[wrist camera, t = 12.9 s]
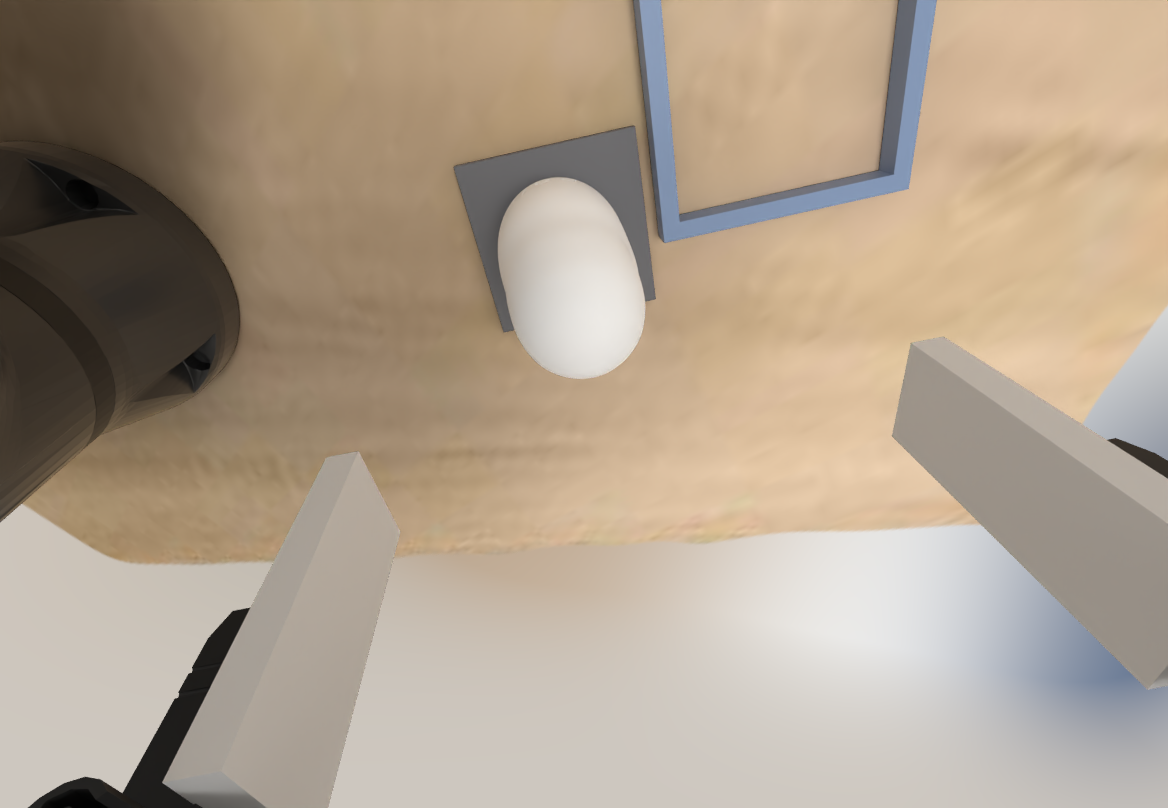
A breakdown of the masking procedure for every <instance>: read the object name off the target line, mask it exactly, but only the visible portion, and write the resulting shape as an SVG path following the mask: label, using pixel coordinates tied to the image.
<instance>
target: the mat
mask: <svg viewBox="0 0 1168 808" xmlns="http://www.w3.org/2000/svg"><path fill="white" fill-rule="evenodd" d="M454 170H455V174H456V177H457V180H458V183H459V187H460V190H461V193H462V197H463V200H464V203H465V206H466V210H467V213H468V216H469V220H470V223H471V226H472V229H473V233H474V236H475V239H476V243H477V246H478V249H479V253H480V256H481V259H482V262H483V266H484V269H485V272H486V276H487V279H488V282H489V285H490V289H491V292H492V295H493V299H494V302H495V305H496V308H497V312H498V315H499V318H500V322H501V325H502V328H503V331H504V332H508V331H513V330H514V327H513V324H512V321H511V317H510V313H509V309H508V305H507V299H506V292H505V289H504V286H503V282H502V278H501V274H500V269H499V262H498V236H499V230H500V226H501V223H502V220H503V217H504V215H505V212H506V210H507V209H508V207H509V205H510V204H511V202H512V201H513V200H514V198H515V197H516V196H517V195H518V194H519V193H520V192H521V191H522V190H524V189H525V188H526V187H528V186H529V185H531V184H533V183H535V182H537V181H540V180H543V179H547V178H553V177H564V178H571V179H575V180H578V181H581V182H583V183H585V184H587V185H589V186H590V187H592V188H594V189H595V190H596V191H598V192H599V193H600V194H601V195H602V196H603V197H604V198H605V199H606V200H607V201H608V203H609V204H610V205H611V207H612V208H613V210H614V211H615V213H616V215H617V216H618V218H619V220H620V222H621V224H622V227H623V229H624V231H625V233H626V236H627V238H628V241H629V243H630V245H631V248H632V251H633V253H634V256H635V260H636V263H637V267H638V273H639V277H640V280H641V283H642V287H643V291H644V297H645V301H650V300H654V299H656V297H655V289H654V281H653V272H652V264H651V256H650V247H649V239H648V231H647V222H646V214H645V206H644V197H643V189H642V181H641V172H640V164H639V155H638V147H637V139H636V130H635V126H628V127H624V128H620V129H615V130H611V131H606V132H602V133H597V134H593V135H589V136H584V137H580V138H575V139H571V140H566V141H562V142H558V143H553V144H549V145H544V146H540V147H535V148H531V149H527V150H522V151H518V152H513V153H509V154H504V155H500V156H496V157H491V158H487V159H482V160H478V161H473V162H469V163H465V164H460V165H456V166H454Z"/></svg>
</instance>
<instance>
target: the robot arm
mask: <svg viewBox="0 0 1168 808" xmlns="http://www.w3.org/2000/svg"><path fill="white" fill-rule="evenodd" d="M238 333H239V310H238V303H237V299H236V295H235V291H234V288H233V285H232V283H231V280H230V277H229V275H228V273H227V271H226V269H225V267H224V265H223V263H222V261H221V260H220V258H219V256H218V255H217V253H216V252H215V250H214V249H213V247H212V246H211V244H210V243H209V242H208V240H207V239H206V238H205V236H204V235H203V234H202V233H201V232H200V230H199V229H198V228H197V227H196V226H195V225H194V224H193V223H192V221H191V220H190V219H189V218H188V217H187V216H186V215H185V214H184V213H183V212H182V211H180V210H179V209H178V208H177V207H176V206H175V205H174V204H173V203H171V202H170V201H169V200H168V199H166V198H165V197H164V196H163V195H161V194H160V193H159V192H157V191H156V190H155V189H153V188H152V187H151V186H149V185H147V184H146V183H144V182H143V181H141V180H140V179H138V178H137V177H135V176H133V175H131V174H130V173H128V172H126V171H124V170H122V169H120V168H118V167H117V166H115V165H113V164H110V163H108V162H106V161H104V160H101V159H99V158H96V157H94V156H91V155H89V154H86V153H83V152H80V151H77V150H73V149H70V148H66V147H62V146H57V145H52V144H47V143H40V142H29V141H6V142H0V522H1V521H2V520H3V519H5V518H6V517H7V516H8V515H9V514H10V513H12V512H13V511H14V510H15V509H16V508H17V507H18V506H19V505H21V504H22V503H23V502H24V501H25V500H26V499H27V498H29V497H30V496H31V495H32V494H33V493H34V492H35V491H37V490H38V489H39V488H40V487H41V486H42V485H43V484H45V483H46V482H47V481H48V480H49V479H50V478H51V477H53V476H54V475H55V474H56V473H57V472H58V471H59V470H60V469H62V468H63V467H64V466H65V465H66V464H67V463H68V462H70V461H71V460H72V459H73V458H74V457H75V456H76V455H77V454H78V453H80V452H81V451H82V450H83V449H84V448H85V447H86V446H88V445H89V444H90V443H91V442H92V441H93V440H95V439H96V438H97V437H98V436H99V435H101V434H104V433H107V432H109V431H112V430H115V429H117V428H120V427H123V426H125V425H128V424H131V423H133V422H136V421H139V420H141V419H144V418H147V417H149V416H152V415H155V414H157V413H160V412H162V411H165V410H168V409H170V408H173V407H175V406H177V405H179V404H181V403H183V402H185V401H187V400H188V399H190V398H191V397H193V396H194V395H196V394H197V393H198V392H200V391H201V390H202V389H203V388H204V387H205V386H206V385H207V384H208V383H209V382H210V381H211V380H212V379H213V378H214V377H215V376H216V375H217V374H218V373H219V372H220V371H221V370H222V369H223V368H224V366H225V365H226V364H227V362H228V361H229V359H230V357H231V355H232V353H233V351H234V349H235V346H236V343H237V339H238ZM892 437H893V438H894V439H895V440H896V441H897V442H898V443H899V444H900V445H901V446H902V447H903V448H904V449H905V450H906V451H907V452H908V453H909V454H910V455H911V456H912V457H913V458H914V459H915V460H916V461H917V462H918V463H919V464H920V465H921V466H923V467H924V468H925V469H926V470H927V471H928V472H929V473H930V474H931V475H932V476H933V477H934V478H935V479H936V480H937V481H938V482H939V483H940V484H941V485H942V486H943V487H944V488H945V489H946V490H947V491H948V492H949V493H950V494H951V495H952V496H953V497H954V498H955V499H956V500H957V501H958V502H959V503H960V504H961V505H962V506H963V507H964V508H965V509H966V510H967V511H968V512H969V513H970V514H971V515H972V516H973V517H974V518H975V519H976V520H977V521H978V522H979V523H980V524H981V525H982V526H983V527H984V528H985V529H986V530H987V531H988V532H989V533H990V534H991V535H992V536H993V537H994V538H995V539H996V540H997V541H998V542H999V543H1000V544H1001V545H1002V546H1003V547H1004V548H1005V549H1006V550H1007V551H1008V552H1009V553H1010V554H1011V555H1012V556H1013V557H1014V558H1015V559H1017V561H1018V562H1019V563H1020V564H1021V565H1022V566H1024V568H1025V569H1026V570H1027V571H1028V572H1029V573H1030V574H1031V575H1032V576H1033V577H1034V578H1035V579H1036V580H1037V581H1038V582H1040V583H1041V585H1043V586H1044V587H1045V588H1046V589H1047V590H1048V591H1049V592H1050V593H1051V594H1052V595H1053V596H1054V597H1055V598H1056V599H1057V600H1058V601H1059V602H1060V603H1061V604H1062V605H1063V606H1064V607H1065V608H1066V609H1067V610H1068V611H1069V612H1070V613H1071V614H1072V615H1073V616H1074V617H1075V618H1076V619H1077V620H1078V621H1079V622H1080V623H1081V624H1082V625H1083V626H1084V627H1085V628H1086V629H1087V630H1088V631H1089V632H1090V633H1091V634H1092V635H1093V636H1094V637H1095V638H1096V639H1097V640H1098V641H1099V642H1100V643H1101V644H1102V645H1103V646H1104V647H1105V648H1106V649H1107V650H1108V651H1109V652H1110V653H1111V654H1112V655H1113V656H1114V657H1115V658H1116V659H1117V660H1118V661H1119V662H1120V663H1121V664H1122V665H1123V666H1124V667H1125V668H1127V670H1128V671H1129V672H1130V673H1131V674H1132V675H1133V676H1134V677H1135V678H1137V680H1138V681H1139V682H1140V683H1141V684H1142V685H1143V686H1144V687H1145V688H1146V689H1147V690H1148V689H1154V688H1159V687H1165V686H1168V461H1167V460H1165V459H1164V458H1162V457H1160V456H1159V455H1157V454H1155V453H1153V452H1150V451H1148V450H1145V449H1143V448H1140V447H1137V446H1134V445H1132V444H1129V443H1127V442H1124V441H1122V440H1119V439H1116V438H1115V439H1109V440H1106V439H1104V438H1103V437H1101V436H1100V435H1098V434H1096V433H1095V432H1093V431H1092V430H1090V429H1088V428H1087V427H1085V426H1084V425H1082V424H1081V423H1079V422H1077V421H1076V420H1074V419H1073V418H1071V417H1070V416H1068V415H1066V414H1065V413H1063V412H1062V411H1060V410H1059V409H1057V408H1055V407H1054V406H1052V405H1051V404H1049V403H1047V402H1046V401H1044V400H1043V399H1041V398H1040V397H1038V396H1036V395H1035V394H1033V393H1032V392H1030V391H1029V390H1027V389H1025V388H1024V387H1022V386H1021V385H1019V384H1018V383H1016V382H1014V381H1013V380H1011V379H1010V378H1008V377H1006V376H1005V375H1003V374H1002V373H1000V372H999V371H997V370H995V369H994V368H992V367H991V366H989V365H988V364H986V363H984V362H983V361H981V360H980V359H978V358H977V357H975V356H973V355H972V354H970V353H969V352H967V351H965V350H964V349H962V348H961V347H959V346H958V345H956V344H954V343H953V342H951V341H950V340H948V339H947V338H945V337H939V338H933V339H928V340H923V341H918V342H913V343H911V345H910V350H909V355H908V360H907V365H906V370H905V375H904V380H903V384H902V389H901V394H900V399H899V404H898V409H897V414H896V419H895V424H894V429H893V434H892ZM399 536H400V530H399V528H398V526H397V524H396V522H395V520H394V518H393V516H392V515H391V513H390V511H389V509H388V507H387V505H386V503H385V501H384V499H383V497H382V495H381V493H380V492H379V490H378V488H377V486H376V484H375V482H374V480H373V478H372V476H371V474H370V472H369V470H368V469H367V467H366V465H365V463H364V461H363V459H362V457H361V455H360V453H359V451H356V452H351V453H346V454H341V455H336V456H331V457H326V459H325V461H324V463H323V465H322V467H321V469H320V471H319V473H318V475H317V477H316V479H315V481H314V483H313V485H312V487H311V489H310V491H309V493H308V495H307V497H306V499H305V501H304V503H303V505H302V507H301V509H300V511H299V513H298V515H297V517H296V519H295V521H294V523H293V525H292V526H291V528H290V530H289V532H288V534H287V536H286V538H285V540H284V542H283V544H282V546H281V548H280V550H279V552H278V554H277V556H276V558H275V560H274V562H273V564H272V566H271V568H270V570H269V572H268V574H267V576H266V578H265V580H264V582H263V584H262V586H261V588H260V590H259V592H258V594H257V596H256V598H255V600H254V602H253V604H252V606H251V608H246V609H241V610H236V611H233V612H231V614H230V615H229V616H228V617H227V618H226V619H225V620H224V621H223V623H222V624H221V625H220V626H219V627H218V628H217V629H216V630H215V631H214V632H213V634H212V635H211V636H210V637H209V638H208V640H207V642H206V643H205V645H204V647H203V649H202V650H201V652H200V654H199V656H198V658H197V660H196V661H195V663H194V665H193V667H192V669H193V671H192V673H189V674H188V676H187V678H186V679H185V681H184V683H183V685H182V687H181V688H180V690H179V697H178V698H176V699H174V701H173V703H172V705H171V707H170V708H169V710H168V712H167V714H166V716H165V717H164V719H163V721H162V723H161V725H160V727H159V728H158V730H157V732H156V734H155V735H154V737H153V739H152V741H151V743H150V745H149V746H148V748H147V750H146V752H145V754H144V755H143V757H142V759H141V761H140V763H139V765H138V766H137V768H136V770H135V772H134V773H133V775H132V777H131V779H130V781H129V783H128V784H127V786H126V788H125V790H124V792H123V793H121V792H119V791H118V790H116V789H115V788H113V787H111V786H110V785H108V784H107V783H105V782H103V781H102V780H100V779H95V778H89V777H83V778H80V779H77V780H73V781H70V782H67V783H64V784H62V785H60V786H59V787H57V788H55V789H54V790H52V791H50V792H49V793H47V794H45V795H44V796H42V797H40V798H39V799H38V800H37V801H35V802H34V803H33V804H32V805H31V806H30V807H28V808H328V805H329V801H330V798H331V794H332V790H333V787H334V782H335V779H336V775H337V771H338V767H339V764H340V760H341V756H342V752H343V748H344V745H345V741H346V737H347V733H348V729H349V726H350V722H351V718H352V714H353V711H354V706H355V703H356V699H357V695H358V692H359V688H360V684H361V680H362V676H363V673H364V669H365V665H366V661H367V657H368V653H369V650H370V646H371V642H372V638H373V634H374V631H375V627H376V623H377V619H378V615H379V611H380V607H381V604H382V600H383V597H384V593H385V589H386V585H387V581H388V577H389V574H390V570H391V566H392V562H393V559H394V555H395V551H396V547H397V543H398V540H399Z"/></svg>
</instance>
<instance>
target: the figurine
mask: <svg viewBox="0 0 1168 808" xmlns="http://www.w3.org/2000/svg"><path fill="white" fill-rule="evenodd" d="M498 262H499V269H500V274H501V278H502V282H503V286H504V289H505V292H506V299H507V305H508V309H509V313H510V317H511V321H512V324H513V327H514V330H515V332H516V335H517V337H518V339H519V341H520V342H521V344H522V346H523V347H524V349H525V350H526V351H527V353H528V354H529V355H530V356H531V357H532V358H533V359H534V360H535V361H536V362H537V363H538V364H539V365H540V366H542V367H543V368H545V369H546V370H548V371H550V372H552V373H554V374H557V375H559V376H563V377H567V378H574V379H588V378H594V377H598V376H601V375H604V374H606V373H608V372H610V371H612V370H613V369H615V368H616V367H618V366H619V365H620V364H621V363H622V362H624V361H625V360H626V359H627V357H628V356H629V355H630V354H631V353H632V351H633V350H634V348H635V347H636V345H637V343H638V341H639V339H640V337H641V334H642V331H643V326H644V321H645V297H644V291H643V287H642V283H641V280H640V277H639V273H638V267H637V263H636V260H635V256H634V253H633V251H632V248H631V245H630V243H629V241H628V238H627V236H626V233H625V231H624V229H623V227H622V224H621V222H620V220H619V218H618V216H617V215H616V213H615V211H614V210H613V208H612V207H611V205H610V204H609V203H608V201H607V200H606V199H605V198H604V197H603V196H602V195H601V194H600V193H599V192H598V191H596V190H595V189H594V188H592V187H590V186H589V185H587V184H585V183H583V182H581V181H578V180H575V179H571V178H564V177H553V178H547V179H543V180H540V181H537V182H535V183H533V184H531V185H529V186H528V187H526V188H525V189H524V190H522V191H521V192H520V193H519V194H518V195H517V196H516V197H515V198H514V200H513V201H512V202H511V204H510V205H509V207H508V209H507V210H506V212H505V215H504V217H503V220H502V223H501V226H500V230H499V236H498Z"/></svg>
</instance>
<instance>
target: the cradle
mask: <svg viewBox="0 0 1168 808" xmlns="http://www.w3.org/2000/svg"><path fill="white" fill-rule="evenodd" d="M936 2H937V0H899V3H898V12H897V20H896V29H895V37H894V46H893V54H892V63H891V71H890V80H889V88H888V97H887V106H886V114H885V123H884V131H883V140H882V148H881V157H880V165H879V170H878V171H874V172H869V173H865V174H860V175H856V176H851V177H847V178H842V179H838V180H833V181H829V182H824V183H820V184H815V185H811V186H806V187H802V188H797V189H793V190H788V191H784V192H779V193H775V194H770V195H766V196H761V197H757V198H752V199H748V200H743V201H739V202H734V203H730V204H725V205H720V206H716V207H711V208H707V209H702V210H698V211H693V212H689V213H684V214H680V215H679V208H678V196H677V185H676V173H675V161H674V149H673V138H672V126H671V114H670V102H669V90H668V79H667V67H666V55H665V43H664V32H663V20H662V8H661V0H633V3H634V12H635V21H636V30H637V40H638V49H639V58H640V67H641V77H642V86H643V95H644V104H645V113H646V123H647V132H648V141H649V150H650V160H651V169H652V178H653V187H654V196H655V206H656V215H657V224H658V233H659V237H660V238H661V239H662V241H663V242H664V243H667V242H671V241H676V240H680V239H685V238H689V237H694V236H698V235H703V234H707V233H712V232H716V231H721V230H725V229H730V228H734V227H739V226H743V225H748V224H753V223H757V222H762V221H766V220H771V219H775V218H780V217H784V216H789V215H793V214H798V213H802V212H807V211H811V210H816V209H820V208H825V207H829V206H834V205H838V204H843V203H847V202H852V201H856V200H861V199H866V198H870V197H875V196H879V195H884V194H888V193H893V192H897V191H902V190H906V189H909V183H910V176H911V169H912V163H913V156H914V149H915V143H916V136H917V129H918V122H919V116H920V109H921V102H922V96H923V89H924V82H925V76H926V69H927V62H928V55H929V49H930V42H931V35H932V29H933V22H934V15H935V9H936Z"/></svg>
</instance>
